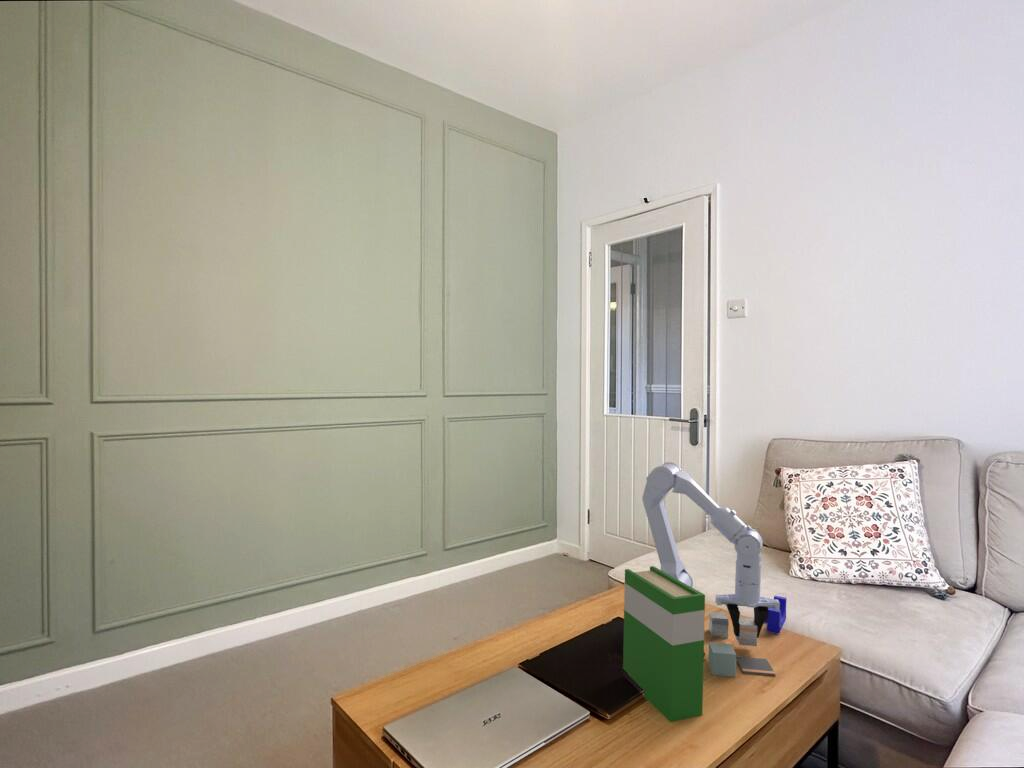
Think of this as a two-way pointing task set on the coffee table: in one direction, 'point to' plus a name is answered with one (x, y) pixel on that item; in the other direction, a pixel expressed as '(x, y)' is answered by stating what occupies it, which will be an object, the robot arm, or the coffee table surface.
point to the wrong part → (718, 624)
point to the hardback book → (665, 641)
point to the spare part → (747, 632)
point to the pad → (755, 666)
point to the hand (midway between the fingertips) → (746, 635)
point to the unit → (722, 659)
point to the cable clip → (777, 616)
